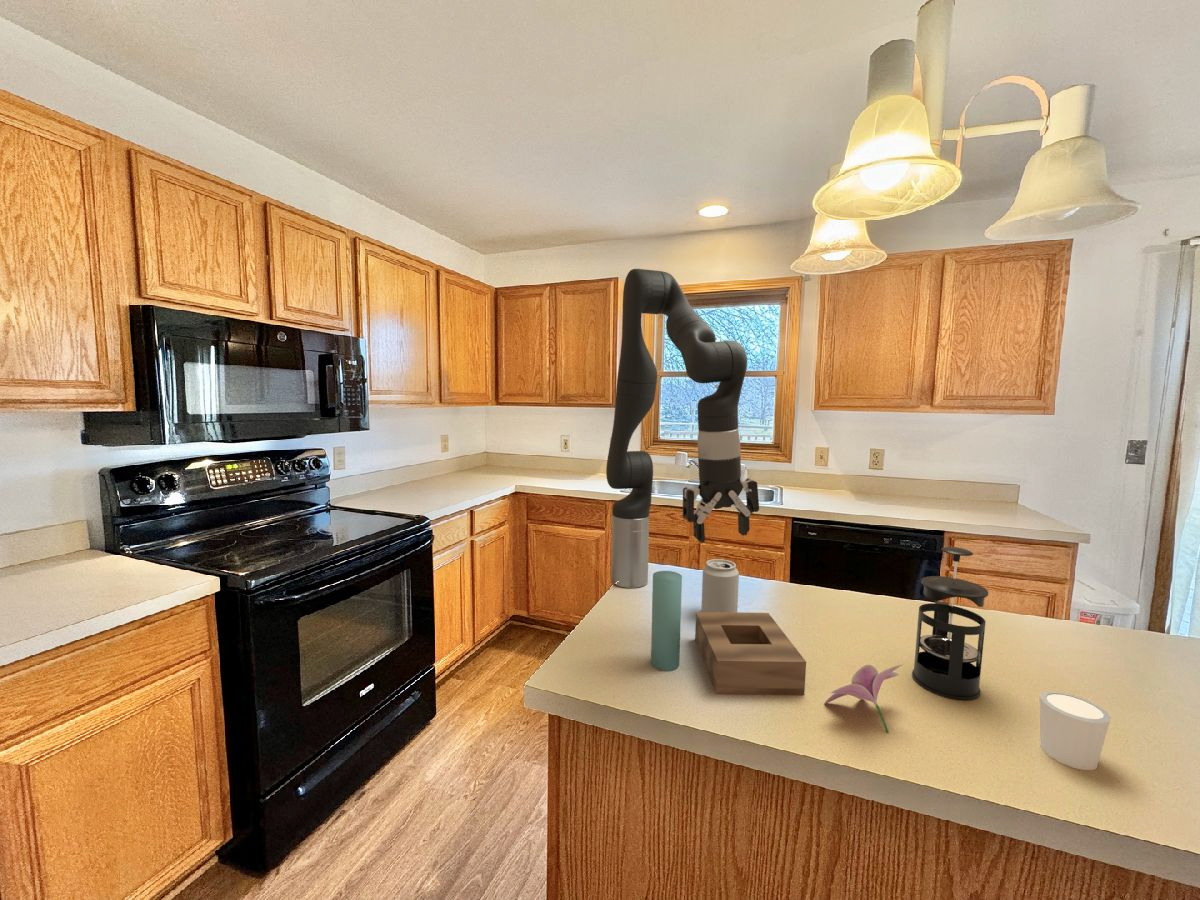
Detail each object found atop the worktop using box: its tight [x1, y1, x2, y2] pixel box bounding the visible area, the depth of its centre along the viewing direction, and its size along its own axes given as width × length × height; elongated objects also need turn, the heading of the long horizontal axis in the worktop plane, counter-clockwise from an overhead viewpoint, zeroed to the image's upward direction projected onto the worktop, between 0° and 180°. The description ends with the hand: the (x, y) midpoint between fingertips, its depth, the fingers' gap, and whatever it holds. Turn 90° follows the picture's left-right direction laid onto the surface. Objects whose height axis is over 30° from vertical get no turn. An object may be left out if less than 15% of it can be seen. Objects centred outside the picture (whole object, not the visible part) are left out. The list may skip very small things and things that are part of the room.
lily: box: [823, 664, 903, 734], centre depth 74 cm, size 12×12×10 cm
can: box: [700, 558, 740, 612], centre depth 107 cm, size 8×8×12 cm
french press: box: [911, 546, 989, 701], centre depth 83 cm, size 12×9×23 cm
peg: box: [650, 570, 683, 672], centre depth 88 cm, size 5×5×16 cm
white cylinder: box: [1039, 690, 1111, 771], centre depth 67 cm, size 7×7×7 cm
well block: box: [694, 611, 807, 696], centre depth 89 cm, size 18×14×6 cm
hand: (721, 537), depth 95 cm, fingers open, 8 cm apart
